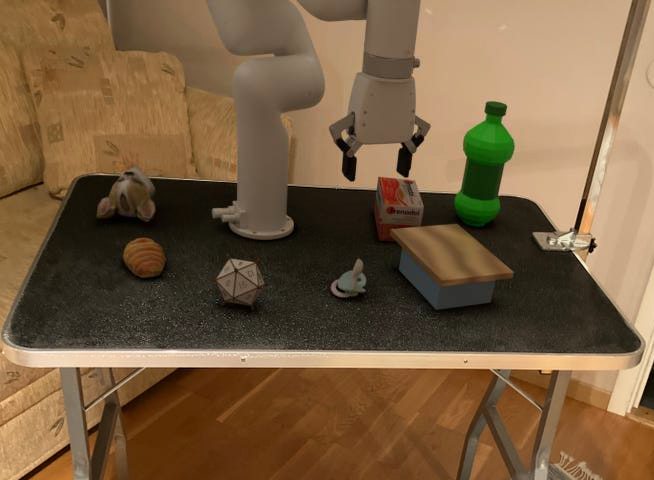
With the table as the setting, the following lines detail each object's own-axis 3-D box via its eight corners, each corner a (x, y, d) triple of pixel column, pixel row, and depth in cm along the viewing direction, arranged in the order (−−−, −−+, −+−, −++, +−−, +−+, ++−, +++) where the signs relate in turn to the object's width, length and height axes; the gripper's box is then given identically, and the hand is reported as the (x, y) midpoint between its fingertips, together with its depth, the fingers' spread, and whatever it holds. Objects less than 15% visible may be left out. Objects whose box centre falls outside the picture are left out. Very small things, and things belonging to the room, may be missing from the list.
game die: (228, 320, 124) (202, 264, 123) (275, 299, 126) (250, 244, 124) (229, 322, 116) (201, 262, 114) (280, 300, 117) (253, 240, 115)
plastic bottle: (506, 229, 160) (532, 112, 146) (463, 232, 156) (485, 112, 143) (483, 210, 168) (506, 97, 154) (442, 213, 164) (461, 96, 150)
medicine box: (419, 244, 149) (425, 207, 144) (378, 242, 148) (383, 204, 143) (410, 214, 161) (415, 178, 157) (372, 211, 160) (376, 175, 156)
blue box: (436, 309, 128) (441, 278, 124) (398, 269, 139) (402, 240, 135) (490, 302, 132) (497, 272, 129) (450, 264, 143) (455, 235, 140)
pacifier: (329, 300, 126) (364, 303, 127) (330, 267, 123) (367, 270, 123) (332, 280, 133) (365, 282, 133) (333, 248, 129) (368, 250, 129)
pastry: (172, 278, 126) (171, 258, 124) (130, 283, 123) (128, 262, 121) (160, 254, 133) (159, 234, 131) (121, 257, 130) (119, 237, 128)
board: (440, 286, 122) (442, 280, 121) (389, 235, 137) (390, 229, 136) (512, 278, 128) (513, 272, 127) (456, 229, 142) (457, 223, 142)
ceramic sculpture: (163, 159, 147) (149, 192, 135) (166, 199, 152) (153, 234, 140) (107, 154, 146) (88, 187, 134) (112, 195, 151) (94, 231, 139)
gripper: (425, 60, 118) (411, 165, 127) (324, 60, 111) (317, 172, 120) (449, 72, 113) (433, 181, 122) (345, 73, 105) (336, 189, 115)
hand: (376, 176), depth 121 cm, fingers open, 9 cm apart
